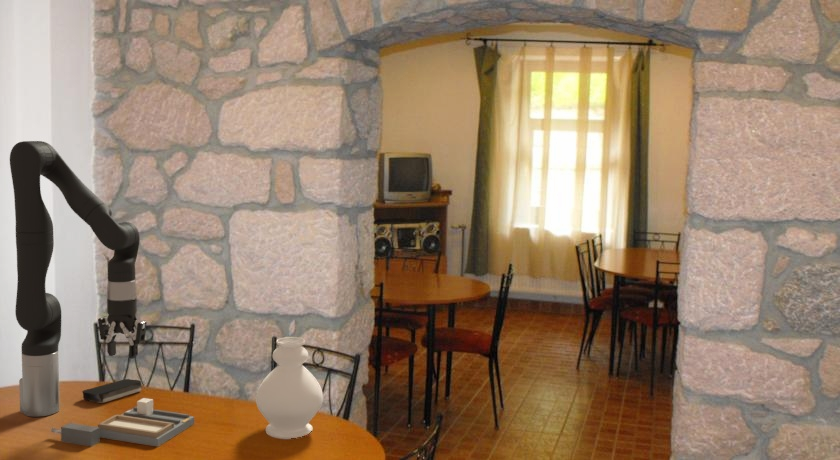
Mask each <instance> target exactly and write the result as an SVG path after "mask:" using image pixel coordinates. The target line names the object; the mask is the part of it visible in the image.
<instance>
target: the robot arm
mask: <svg viewBox="0 0 840 460" xmlns="http://www.w3.org/2000/svg"><path fill="white" fill-rule="evenodd" d="M9 167H10V175H11V180H12V181H11V182H12V188H13V196H14V213H15V214H14V215H15V246H16V269H17V270H16V272H17V284H16V285H17V288H16V296H15V299H16V300H15V318H16V321H17V323H18V325H19V326H20V328H22V329H23V330H24V331H27V332H26V335H25V338H24V340H23V341H22V343H21V372H22V373H21V375H22V376H21V377H22V378H20V379H19V381H18V383H19V384H18V386H19V413H21V414H23V415H25V416H26V417H46V416H50V415H53V414H56V413H57V412H60V369H59V368H60V364H59V358H60V357H59V345H60V344H59V343H60V341H61V337H62V308H61V304H60V301H59V300H58V298H57V297H56V296H55V295H54V294H51V293H49V292H46V279H47V274H48V270H49V267H50V263H51V261H52V260H51V259H52V257H53V254H54V246H55V245H54V244H55V243H54V223H53V220H52V218H51V215H50V213H49V211H48V208H47V207H46V205H45V202H44V201H43V198H42V191H41V176H43V177H44V178H45V179H46V180H49V181H50V182H51V183H52V184H53V185H55V186H56V187H57V188H58V189H59V191H60V192H61V193H62V196H63V198H64V199H65V201H66V203H67V204H68V206H69V207H70V209H71V210H72V211H73V212H74V214H76V215H77V216H78V217H79V218H80V219H81V220H82V221H83V222H84V223H85V224H87V225H88V226H89V227H90V229H91V230H92V232H93V233H94V235H95V236H96V237H97V239H98V241H99V242H100V243H101V244H102V245H103V246H105V248H107V249H109V250H112V251H114V252H113V257H112V258H110V260H109V261H108V262H107V286H106V312H107V314H108V316H101V317H99V318H97V323H98V331H99V336H100V337H99V338H100V340H103V341H106V344H107V345H106V347H107V351H106V352H107V354H108V356H109V357H113V356H115V355H116V354H117V341H116V339H117V337H118V335H119V334H122V335H124V336H125V338H126V339H127V340H128V344H129V346H128V348H129V350H128V351H129V353H128V354H129V355H128V356H129V359H135V358H137V356H138V354H139V345H140V344H141V343H144V342H145V339H146V331H147V325H148V324H147V321H146V320H143V321H140V320H138V319H137V317H136V315H137V310H138V308H137V307H138V305H137V304H138V303H137V300H138V299H137V297H138V295H137V284H136V262H137V257H138V251H139V246H140V240H141V239H140V233H139V230H138V228H137V226H136V225H135V224H133V223H132V222H129V221H128V222H127V221H124V222H119V223H118V222H116V221H115V220H114V219H113V217H112V215H113V211H112V210H111V208H110V207H109V206H108V205H107V204H106V203H105V202H104V200H101V198H100V197H98V196H97V195H96V194H95V193H94V192H93V191H92V190H91V189H89V187H87V185H85V183H83V181H82V180H81V179H80V178H79V177H78V175H77V174H76V173H75V172H74V171H73V170H72V169H71V168H70V166H69V165H68V164H67V163H66V161H65V160H64V159H63V157H62V156H61V155H60V154H59V152H58V151H57V150H56V149H55V148H54V147H53V145H51V144H50V143H48V142H46V141H41V140H29V141H27V140H26V141H19V142H18V143H16V144H14V146H13V147H12V148H11V151H10V154H9ZM109 326H110V327H109Z"/></svg>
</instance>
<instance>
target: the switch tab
mask: <svg viewBox="0 0 840 460" xmlns="http://www.w3.org/2000/svg"><path fill="white" fill-rule="evenodd" d="M136 407H137V414H144V415H151V414H153V409H154V399H153V398H147V397H142V398H140V399H139V400H137V401H136Z"/></svg>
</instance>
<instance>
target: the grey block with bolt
mask: <svg viewBox="0 0 840 460" xmlns="http://www.w3.org/2000/svg"><path fill="white" fill-rule="evenodd" d="M60 427H61V428H59V429H58V428H53V427H52V428H51V429H50V430H51V431H50V433H55V434H61V435H60V438H61V439H60V442H63V443H67V444H68V443H69V444H73V445H80V446H86V447H93V446H95V445H97V444H98V443H100V441H101V439H100V438H101V437H100V427H98V426H92V425H86V424H81V423H80V424H79V423H73V422H69V423H66V424H65V425H62V426H60Z"/></svg>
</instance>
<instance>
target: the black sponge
mask: <svg viewBox="0 0 840 460" xmlns="http://www.w3.org/2000/svg"><path fill="white" fill-rule="evenodd" d="M142 389H143V384H142V381H141V380H140V379H130V378H129V379H127V378H126V379H121V380H116V381H113V382H110V383H109V382H108V383H106V384H103V385H99V386H95V387H92V388H88V389H84V390H82V395H83V397H82V398H83V400H84V401H88V400H89V402H94V403H99V404H104V403H107V402H112V401H115V400H117V399H120V398H124V397H126V396H129V395H132V394H136V393H139V392H141V391H142Z"/></svg>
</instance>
